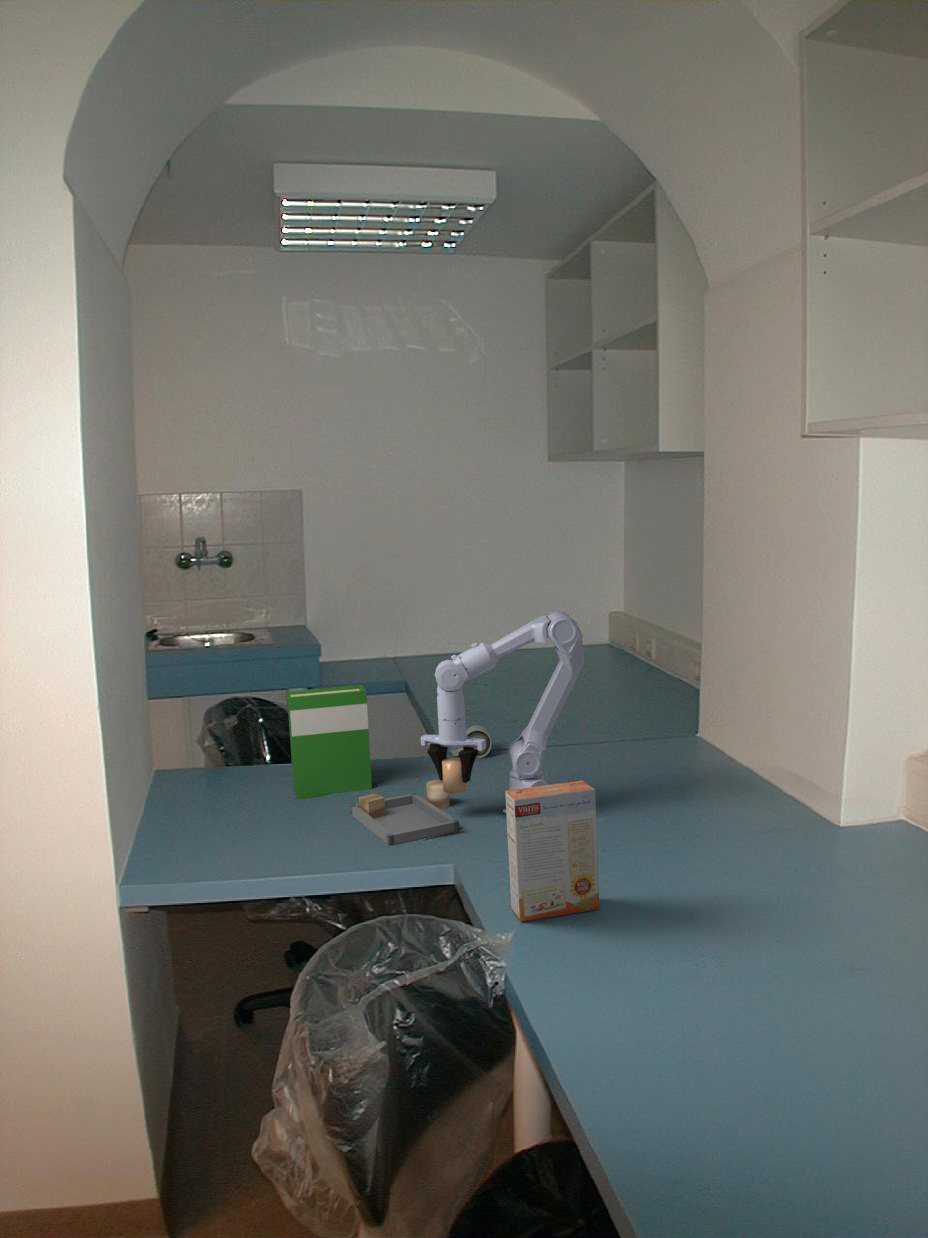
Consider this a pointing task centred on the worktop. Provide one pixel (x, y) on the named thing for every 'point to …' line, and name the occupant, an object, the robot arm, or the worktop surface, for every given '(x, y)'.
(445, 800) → the beige oval piece
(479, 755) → the ceramic mug
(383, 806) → the oak cube
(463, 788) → the tan rounded cylinder
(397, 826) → the tray
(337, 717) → the hardback book
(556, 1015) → the worktop surface
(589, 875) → the cracker box
